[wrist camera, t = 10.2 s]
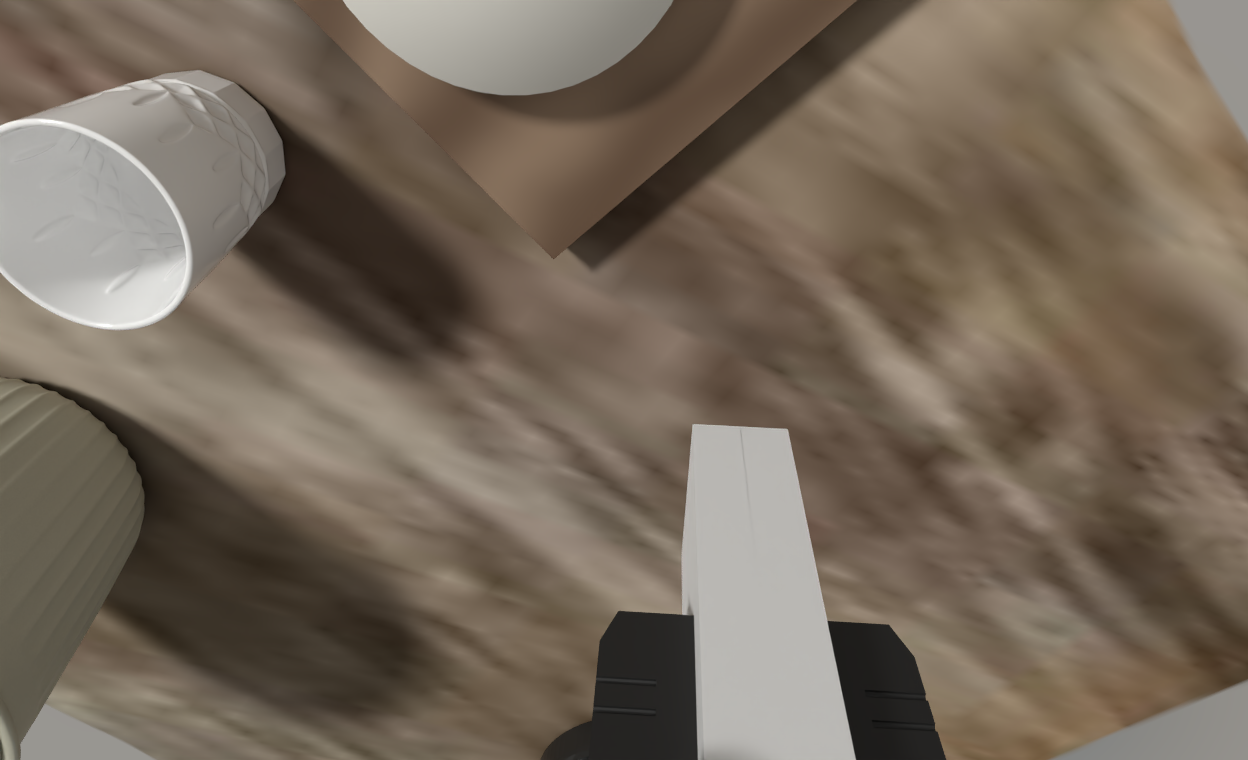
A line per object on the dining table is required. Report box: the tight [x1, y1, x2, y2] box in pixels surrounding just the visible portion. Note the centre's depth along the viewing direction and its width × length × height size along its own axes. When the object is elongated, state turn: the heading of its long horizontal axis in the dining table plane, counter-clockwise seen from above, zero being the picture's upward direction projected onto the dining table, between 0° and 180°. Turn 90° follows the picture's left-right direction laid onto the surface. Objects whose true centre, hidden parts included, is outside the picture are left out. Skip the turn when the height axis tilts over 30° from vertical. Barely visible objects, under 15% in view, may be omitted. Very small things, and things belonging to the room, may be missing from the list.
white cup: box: [0, 70, 286, 330], centre depth 34 cm, size 8×8×10 cm
